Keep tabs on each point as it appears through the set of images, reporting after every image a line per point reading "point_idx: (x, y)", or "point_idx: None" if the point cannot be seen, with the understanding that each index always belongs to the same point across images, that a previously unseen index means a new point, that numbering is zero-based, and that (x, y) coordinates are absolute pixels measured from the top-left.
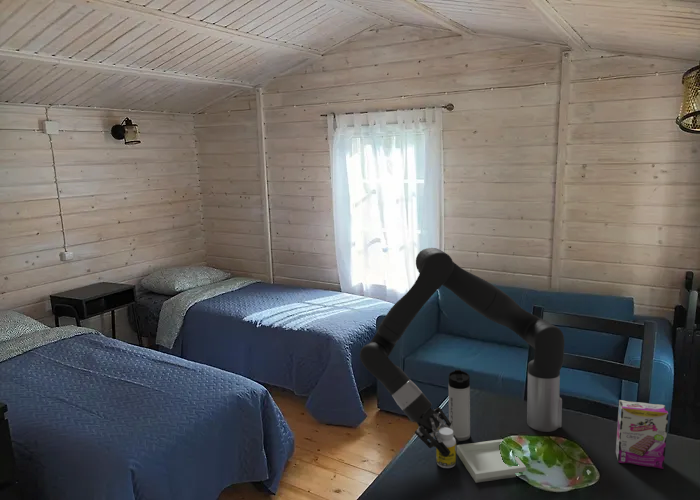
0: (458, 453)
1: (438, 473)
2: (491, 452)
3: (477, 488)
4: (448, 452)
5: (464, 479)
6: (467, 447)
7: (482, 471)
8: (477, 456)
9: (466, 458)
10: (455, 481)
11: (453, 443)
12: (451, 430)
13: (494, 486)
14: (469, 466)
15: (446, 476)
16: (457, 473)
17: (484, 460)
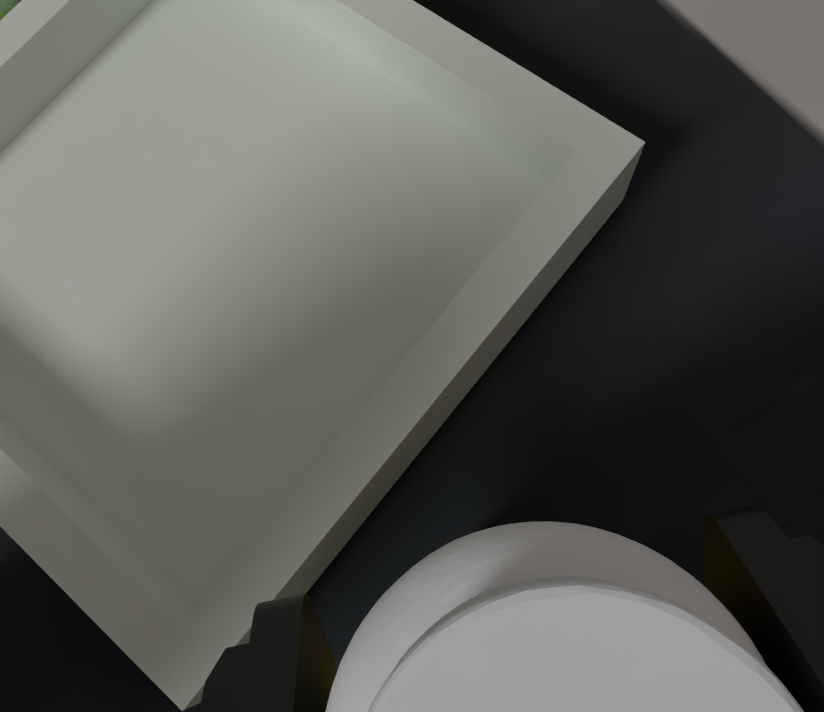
0: None
1: None
2: (28, 308)
3: (693, 143)
4: (769, 527)
5: (656, 318)
6: (122, 557)
7: (543, 109)
8: (193, 394)
9: (415, 399)
10: (764, 376)
11: (574, 528)
12: (437, 701)
13: (545, 47)
14: (519, 303)
15: None
16: (612, 440)
17: (225, 291)
